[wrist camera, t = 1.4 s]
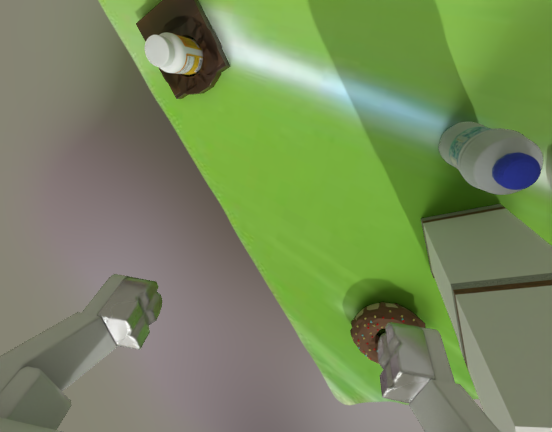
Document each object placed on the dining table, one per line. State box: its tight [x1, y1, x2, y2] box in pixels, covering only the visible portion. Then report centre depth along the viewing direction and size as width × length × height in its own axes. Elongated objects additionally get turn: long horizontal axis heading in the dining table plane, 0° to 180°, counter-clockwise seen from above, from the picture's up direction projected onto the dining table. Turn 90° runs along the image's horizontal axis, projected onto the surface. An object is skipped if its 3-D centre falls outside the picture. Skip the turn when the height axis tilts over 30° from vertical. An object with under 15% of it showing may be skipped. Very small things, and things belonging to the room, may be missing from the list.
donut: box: [350, 302, 425, 363], centre depth 58 cm, size 14×14×5 cm
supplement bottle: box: [145, 32, 204, 75], centre depth 46 cm, size 5×5×10 cm
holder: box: [136, 0, 230, 99], centre depth 49 cm, size 14×11×2 cm
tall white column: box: [421, 204, 552, 432], centre depth 34 cm, size 11×11×35 cm
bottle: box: [439, 122, 543, 195], centre depth 35 cm, size 7×7×20 cm
